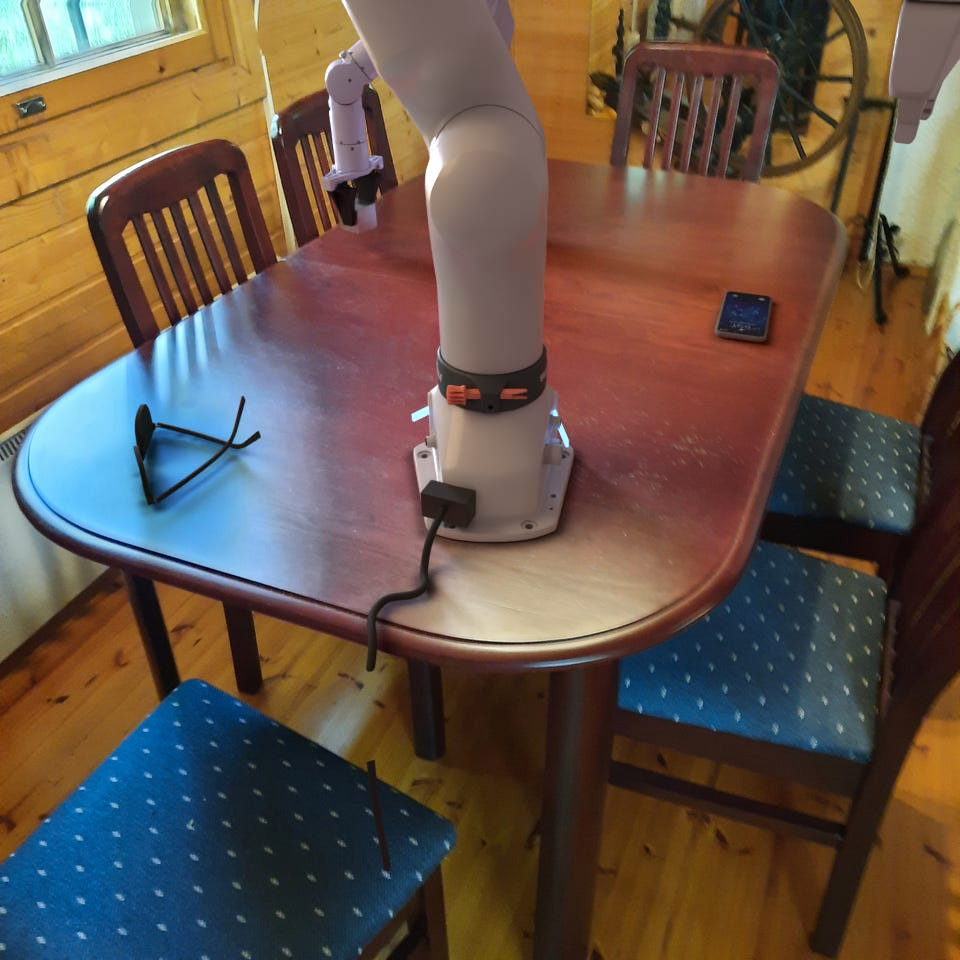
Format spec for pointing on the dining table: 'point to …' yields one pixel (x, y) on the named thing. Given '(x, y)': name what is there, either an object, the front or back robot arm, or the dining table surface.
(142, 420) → the sunglasses
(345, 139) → the back robot arm
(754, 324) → the smartphone
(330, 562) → the dining table surface
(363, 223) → the block
